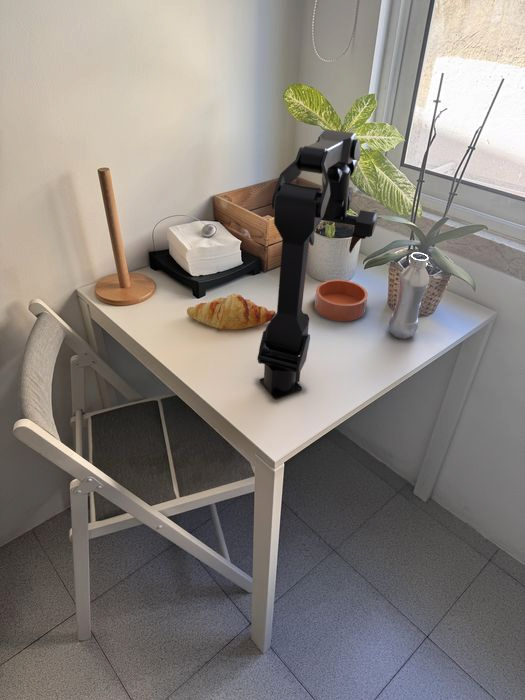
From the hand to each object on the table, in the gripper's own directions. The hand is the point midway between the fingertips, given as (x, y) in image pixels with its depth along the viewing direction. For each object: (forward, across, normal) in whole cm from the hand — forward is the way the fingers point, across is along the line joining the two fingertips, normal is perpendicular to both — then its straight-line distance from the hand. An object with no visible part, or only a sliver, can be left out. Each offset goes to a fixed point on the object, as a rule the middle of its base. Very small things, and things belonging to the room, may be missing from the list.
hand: (331, 247), depth 120 cm
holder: (+15, -4, +4) cm, 16 cm away
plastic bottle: (+14, -20, +10) cm, 26 cm away
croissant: (+11, +19, +20) cm, 29 cm away
